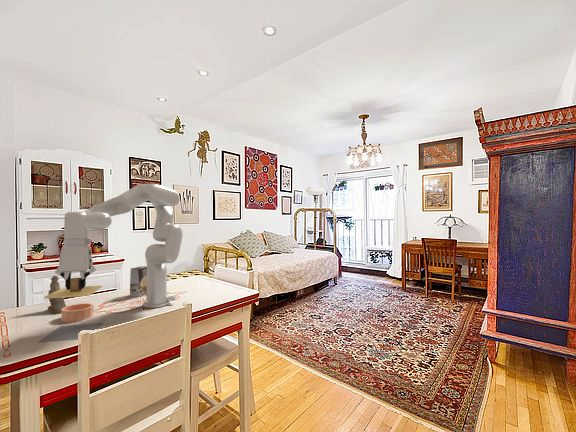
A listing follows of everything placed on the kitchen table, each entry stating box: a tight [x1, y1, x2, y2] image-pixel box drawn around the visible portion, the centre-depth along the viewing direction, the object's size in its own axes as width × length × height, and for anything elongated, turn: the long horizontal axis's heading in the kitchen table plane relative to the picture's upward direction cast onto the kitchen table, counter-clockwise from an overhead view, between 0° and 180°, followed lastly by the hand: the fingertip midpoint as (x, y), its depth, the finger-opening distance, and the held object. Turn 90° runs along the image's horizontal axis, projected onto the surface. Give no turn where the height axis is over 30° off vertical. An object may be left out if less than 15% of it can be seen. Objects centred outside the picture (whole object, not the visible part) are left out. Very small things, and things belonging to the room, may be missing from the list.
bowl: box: [60, 302, 94, 323], centre depth 125 cm, size 11×11×5 cm
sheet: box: [43, 276, 103, 300], centre depth 111 cm, size 14×14×6 cm
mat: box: [36, 322, 105, 344], centre depth 109 cm, size 16×16×1 cm
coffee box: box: [129, 265, 147, 298], centre depth 164 cm, size 9×6×16 cm
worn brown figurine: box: [47, 275, 67, 315], centre depth 135 cm, size 12×6×18 cm, turn 54°
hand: (75, 288), depth 111 cm, fingers closed on sheet, 3 cm apart
